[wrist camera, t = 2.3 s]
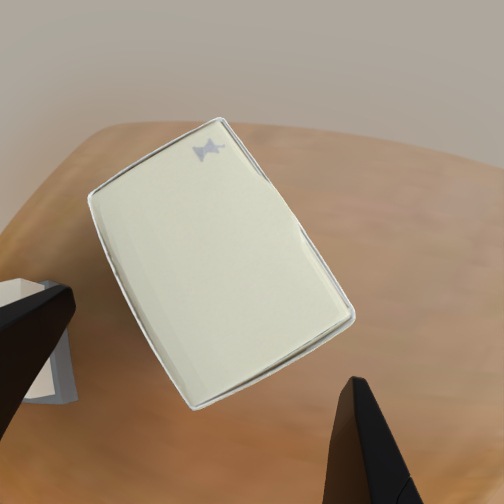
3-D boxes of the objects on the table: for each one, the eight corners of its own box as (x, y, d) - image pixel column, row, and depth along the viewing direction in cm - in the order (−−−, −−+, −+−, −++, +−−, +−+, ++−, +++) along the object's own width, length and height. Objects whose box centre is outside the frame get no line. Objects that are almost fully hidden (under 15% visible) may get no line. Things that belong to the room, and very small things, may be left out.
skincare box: (184, 274, 19) (76, 186, 8) (246, 237, 20) (217, 103, 8) (238, 368, 18) (186, 422, 6) (303, 329, 18) (365, 317, 6)
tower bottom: (82, 399, 18) (62, 404, 16) (9, 396, 18) (-12, 399, 16) (68, 286, 20) (48, 279, 18) (-2, 300, 20) (-22, 295, 18)
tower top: (55, 394, 16) (30, 398, 13) (-9, 389, 16) (-32, 390, 13) (44, 285, 18) (20, 278, 15) (-17, 296, 18) (-40, 290, 15)
